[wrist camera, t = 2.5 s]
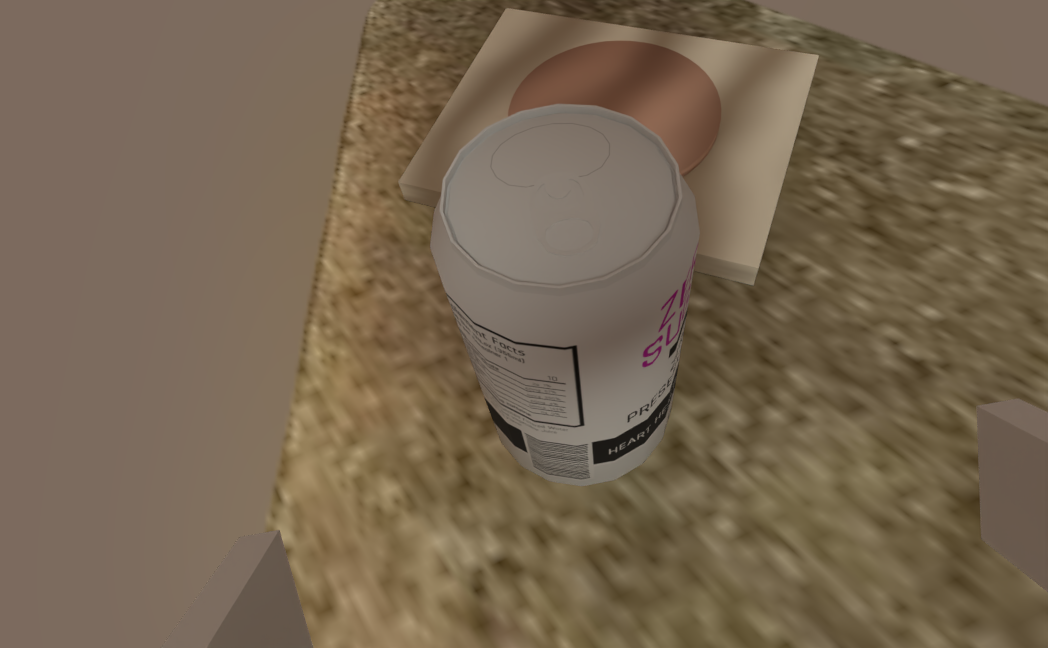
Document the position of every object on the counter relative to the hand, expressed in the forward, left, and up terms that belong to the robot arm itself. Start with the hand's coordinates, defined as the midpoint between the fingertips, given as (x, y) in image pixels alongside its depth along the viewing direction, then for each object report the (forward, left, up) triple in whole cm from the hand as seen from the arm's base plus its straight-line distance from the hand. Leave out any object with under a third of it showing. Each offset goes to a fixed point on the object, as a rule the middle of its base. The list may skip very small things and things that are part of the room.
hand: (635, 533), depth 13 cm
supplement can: (+5, -9, -17) cm, 20 cm away
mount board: (+9, -26, -17) cm, 32 cm away
